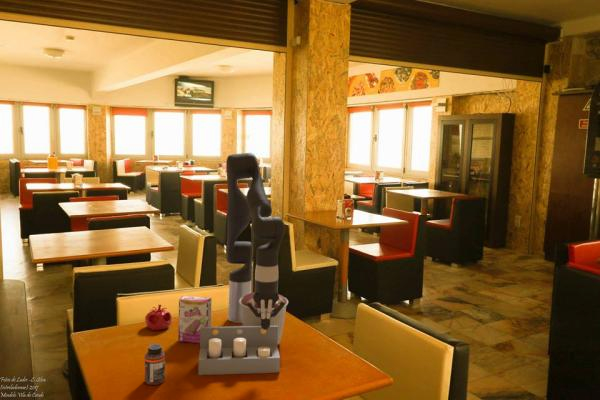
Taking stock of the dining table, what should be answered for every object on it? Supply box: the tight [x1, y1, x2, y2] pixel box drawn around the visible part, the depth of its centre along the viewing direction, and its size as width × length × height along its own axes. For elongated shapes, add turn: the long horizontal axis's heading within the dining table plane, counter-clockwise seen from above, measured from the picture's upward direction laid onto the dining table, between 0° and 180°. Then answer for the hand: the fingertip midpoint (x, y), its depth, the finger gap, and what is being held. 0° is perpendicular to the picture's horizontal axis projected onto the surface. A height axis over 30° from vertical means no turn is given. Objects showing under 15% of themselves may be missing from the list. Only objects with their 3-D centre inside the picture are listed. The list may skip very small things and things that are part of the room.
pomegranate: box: [144, 304, 172, 331], centre depth 192 cm, size 10×10×9 cm
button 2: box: [258, 347, 270, 357], centre depth 161 cm, size 4×4×5 cm
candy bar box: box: [177, 295, 213, 344], centre depth 180 cm, size 11×5×16 cm, turn 84°
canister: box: [239, 291, 289, 346], centre depth 179 cm, size 18×18×21 cm
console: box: [197, 325, 281, 376], centre depth 161 cm, size 10×26×12 cm, turn 98°
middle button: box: [233, 338, 246, 357], centre depth 159 cm, size 4×4×5 cm
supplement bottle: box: [144, 343, 166, 386], centre depth 149 cm, size 6×6×11 cm
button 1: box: [209, 338, 221, 358], centre depth 158 cm, size 4×4×5 cm
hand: (265, 328), depth 160 cm, fingers closed
